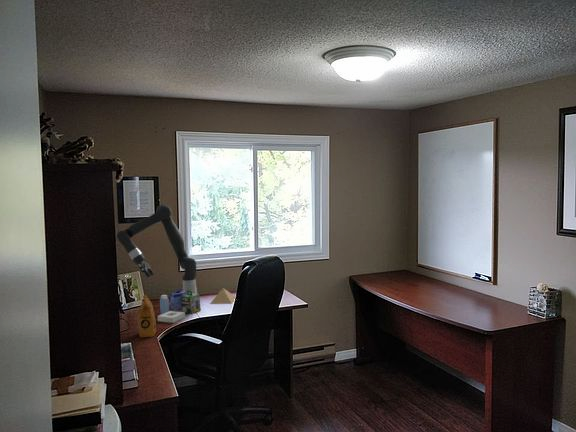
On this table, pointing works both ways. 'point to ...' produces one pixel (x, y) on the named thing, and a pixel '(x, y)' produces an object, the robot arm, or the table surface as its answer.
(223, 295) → the model pyramid
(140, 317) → the coffee package
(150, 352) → the table surface
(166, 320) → the port block
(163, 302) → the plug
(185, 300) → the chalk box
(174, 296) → the ink cartridge box
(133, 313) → the table surface
